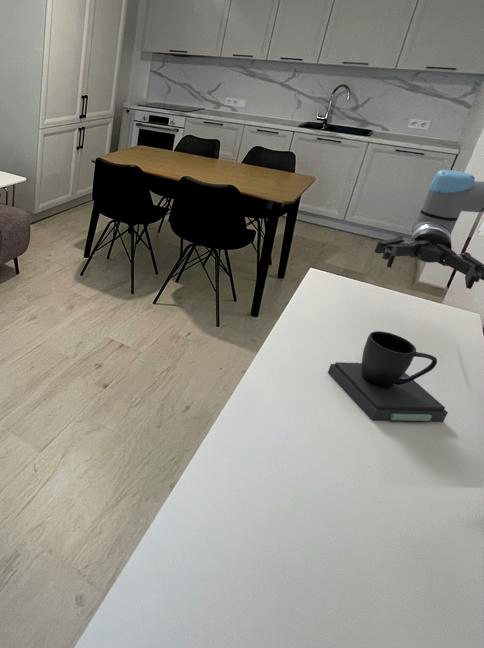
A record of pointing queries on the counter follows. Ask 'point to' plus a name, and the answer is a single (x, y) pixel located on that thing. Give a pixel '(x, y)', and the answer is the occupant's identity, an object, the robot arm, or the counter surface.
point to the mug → (390, 360)
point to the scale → (387, 396)
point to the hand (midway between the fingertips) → (429, 271)
